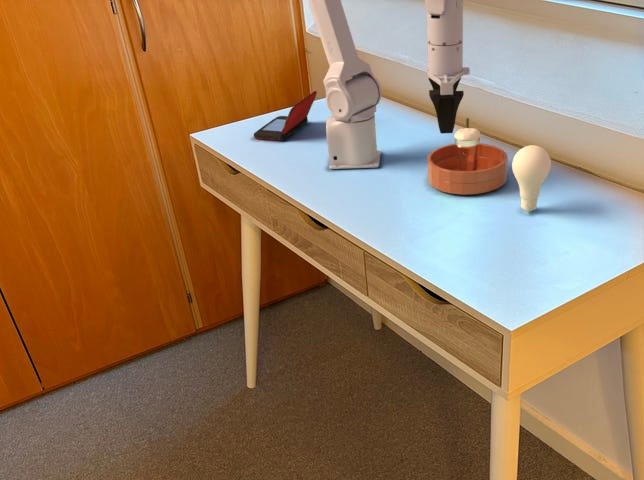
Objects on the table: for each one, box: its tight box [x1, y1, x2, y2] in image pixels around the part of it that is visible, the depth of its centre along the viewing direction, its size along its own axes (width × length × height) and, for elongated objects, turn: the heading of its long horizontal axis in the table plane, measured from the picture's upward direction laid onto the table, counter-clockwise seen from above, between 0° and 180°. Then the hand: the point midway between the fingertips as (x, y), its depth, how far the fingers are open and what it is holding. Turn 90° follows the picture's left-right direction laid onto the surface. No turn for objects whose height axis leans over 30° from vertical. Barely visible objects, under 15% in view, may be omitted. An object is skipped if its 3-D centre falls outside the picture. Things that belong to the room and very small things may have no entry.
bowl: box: [427, 142, 509, 196], centre depth 130 cm, size 14×14×4 cm
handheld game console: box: [253, 90, 318, 142], centre depth 155 cm, size 12×11×7 cm
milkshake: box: [454, 117, 481, 171], centre depth 128 cm, size 4×5×10 cm
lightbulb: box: [511, 144, 552, 213], centre depth 116 cm, size 6×6×11 cm
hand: (445, 125), depth 125 cm, fingers open, 7 cm apart
